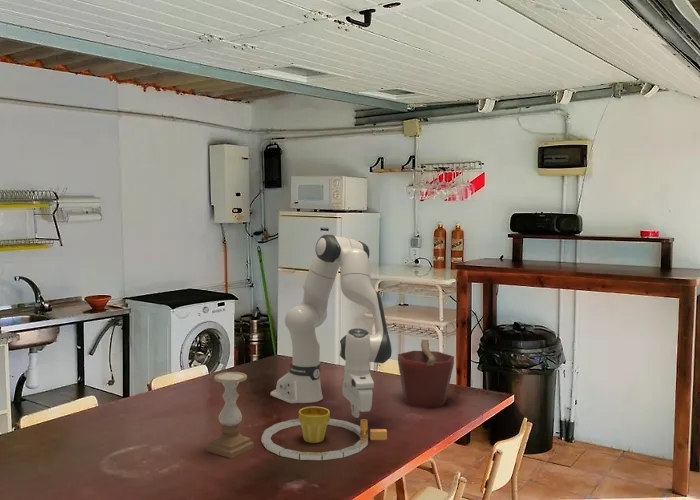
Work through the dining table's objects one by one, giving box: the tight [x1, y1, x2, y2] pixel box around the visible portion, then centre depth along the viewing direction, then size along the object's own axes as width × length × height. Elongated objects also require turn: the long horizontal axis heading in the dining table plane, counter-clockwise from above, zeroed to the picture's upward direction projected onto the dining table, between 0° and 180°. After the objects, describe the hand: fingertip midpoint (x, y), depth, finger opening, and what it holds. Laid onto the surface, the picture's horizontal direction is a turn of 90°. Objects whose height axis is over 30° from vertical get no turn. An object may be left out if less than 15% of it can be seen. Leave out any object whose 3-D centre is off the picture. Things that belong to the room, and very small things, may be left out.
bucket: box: [397, 339, 455, 409], centre depth 254 cm, size 24×22×25 cm
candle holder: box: [205, 371, 255, 459], centre depth 199 cm, size 11×11×24 cm
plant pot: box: [298, 406, 331, 444], centre depth 209 cm, size 10×10×10 cm
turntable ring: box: [261, 418, 369, 461], centre depth 209 cm, size 35×35×6 cm
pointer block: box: [369, 428, 388, 441], centre depth 211 cm, size 6×2×3 cm, turn 95°
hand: (355, 416), depth 216 cm, fingers closed
